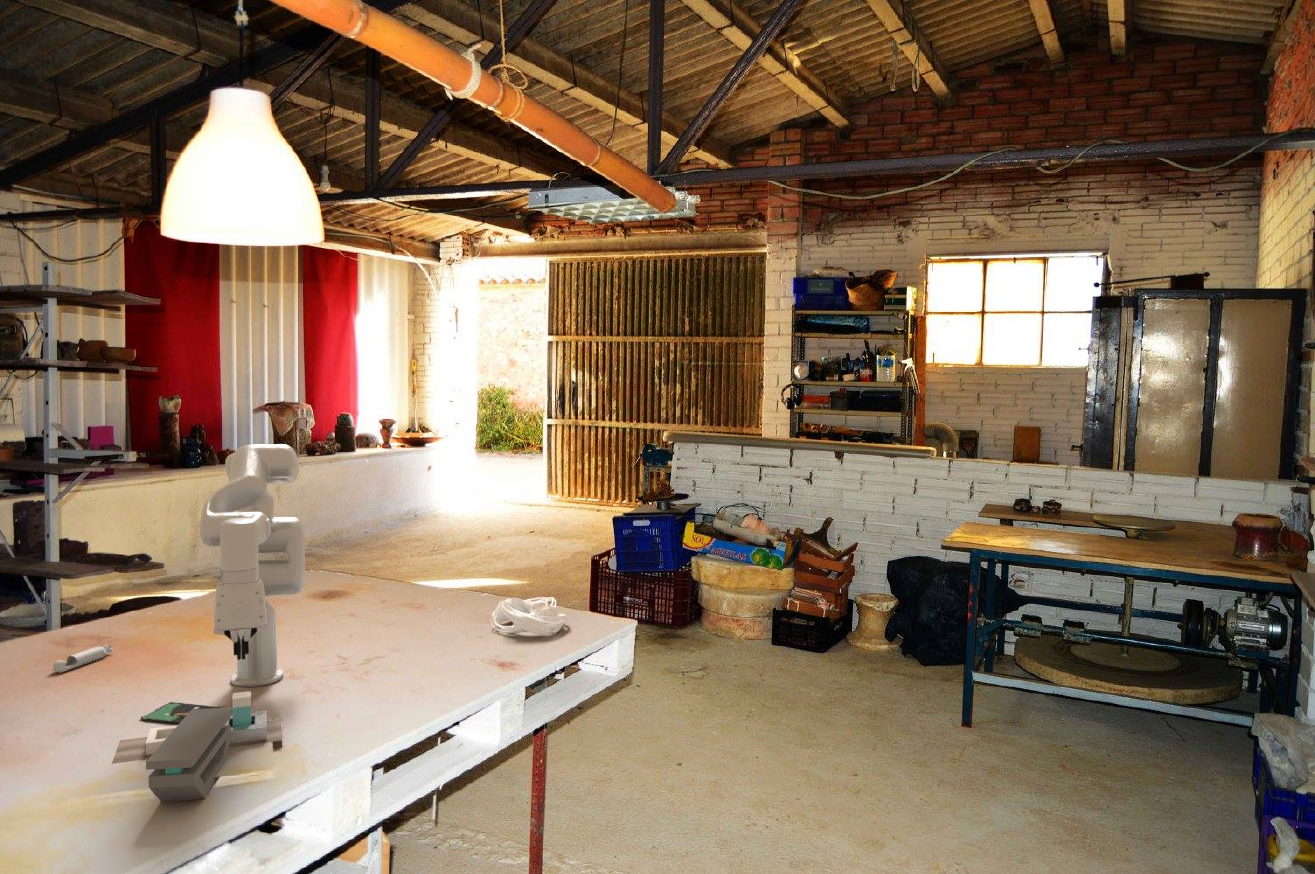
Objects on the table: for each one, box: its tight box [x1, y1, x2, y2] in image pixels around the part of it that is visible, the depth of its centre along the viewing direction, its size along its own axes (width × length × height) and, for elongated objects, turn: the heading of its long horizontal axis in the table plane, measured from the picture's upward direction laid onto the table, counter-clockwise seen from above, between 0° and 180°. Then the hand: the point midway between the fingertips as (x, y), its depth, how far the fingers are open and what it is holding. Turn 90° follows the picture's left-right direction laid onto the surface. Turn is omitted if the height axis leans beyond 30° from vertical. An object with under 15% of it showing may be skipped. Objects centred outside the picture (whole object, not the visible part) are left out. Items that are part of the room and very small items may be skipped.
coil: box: [490, 596, 568, 637], centre depth 289 cm, size 25×24×9 cm
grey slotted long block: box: [145, 707, 233, 802], centre depth 177 cm, size 25×8×11 cm, turn 10°
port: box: [225, 710, 268, 745], centre depth 198 cm, size 10×10×3 cm
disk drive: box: [138, 701, 223, 726], centre depth 209 cm, size 10×3×15 cm
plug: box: [231, 690, 252, 727], centre depth 198 cm, size 4×4×9 cm
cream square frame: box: [146, 725, 178, 755], centre depth 193 cm, size 8×8×2 cm
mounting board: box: [111, 719, 283, 764], centre depth 195 cm, size 12×32×2 cm, turn 114°
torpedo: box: [52, 635, 114, 674], centre depth 246 cm, size 18×5×7 cm, turn 166°
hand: (241, 657), depth 198 cm, fingers closed
